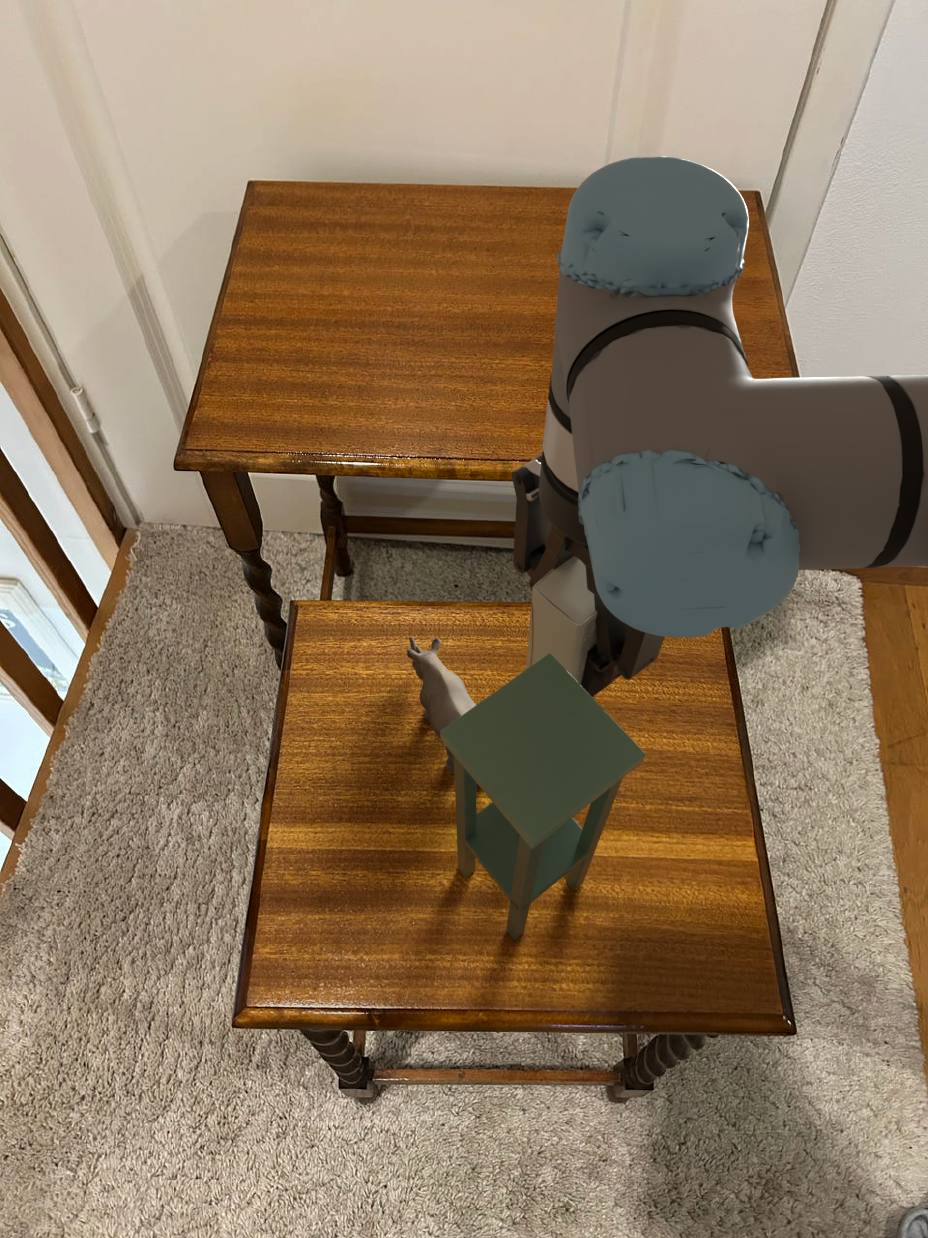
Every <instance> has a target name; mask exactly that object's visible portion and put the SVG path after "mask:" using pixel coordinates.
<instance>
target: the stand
mask: <svg viewBox="0 0 928 1238" xmlns="http://www.w3.org/2000/svg"><path fill="white" fill-rule="evenodd" d="M453 774H454V797H455V798H454V801H455V823H456V825H455V826H456V829H455V830H456V852H457V869H458V871H460V873H461V874H462V875H463V876H464V878H467V877H468V876H470V875H471V874H472V873H474V872H475V871H476V860H477V861H478V862H479V864H480V865H481V867H483V870H485V871H486V873H487V874H488V875H489V876H490V877H491V879H492V880H493V882H495V884H496V885H497V886H498V887H499V889H500V890H501V892H503V894H504V895H505V896H506V897H507V899H508V900H509V907H508V915H507V922H506V929H505V930H506V932H507V934H509V935H510V937H511V938H512V940H513V941H515V940H517V939H518V938H519V937H520V936H522V935H523V934H524V933H525V930H526V927H527V926H526V925H527V921H528V916H529V911H530V907H531V904H532V903H533V902H535V900H536V899H538V898H539V897H541V896H542V894H544V893H546V892H547V890H549V889H550V888H551V887H553V886H554V885H555V884H557V882H559V881H560V880H561V879H562V878H564V877H565V876H566V875H567V876H566V879H565V882H566V883H567V884H568V886H569V887H570V888H571V889H572V891H576V890H577V889H579V888H580V887H581V886H582V885H583V884H584V881H585V878H586V876H587V873H588V871H589V868H590V867H591V863H592V860H593V858H594V855H595V852H596V850H597V847H598V844H599V842H600V839H601V837H602V835H603V834H602V833H603V831H604V829H605V827H606V823H607V821H608V818H609V816H610V813H611V810H612V808H613V805H614V802H615V800H616V797H617V795H618V791H619V789H620V786H621V784H622V781H623V779H624V777H623V778H622V779H621V780H620V781H618V782H617V783H616V784H615V785H613V786H612V787H611V788H609V789H608V790H607V791H606V792H604V793H603V794H602V795H601V796H599V797H598V798H597V799H596V800H594V801H593V802H592V803H591V804H589V807H588V809H587V810H588V811H587V814H586V817H585V820H584V822H583V826H582V827H581V826H580V824H579V823H578V822H577V821H576V819H574V817H573V818H572V819H570V820H569V821H568V822H567V823H565V824H564V825H563V826H562V827H560V828H559V829H558V830H556V831H555V832H554V833H553V834H551V835H550V836H549V837H548V838H546V839H545V840H544V841H543V842H541V843H540V844H539V845H538V846H536V847H535V848H534V849H531V848H530V846H529V845H528V844H527V843H526V842H525V840H524V839H523V838H522V837H521V836H520V834H519V833H518V832H517V831H516V830H515V828H514V827H513V826H512V825H511V824H510V822H509V821H508V820H507V819H506V818H505V816H504V815H503V814H502V813H501V812H500V810H499V809H498V808H497V807H496V806H495V804H494V803H493V802H492V801H491V803H490V804H488V805H486V806H485V807H484V808H483V809H482V810H480V811H479V812H477V800H478V799H477V797H478V796H477V794H478V793H477V792H478V786H477V785H478V784H477V783H476V781H475V780H474V779H473V778H472V777H471V775H470V774H469V773H468V772H467V771H466V769H465V768H464V767H463V766H462V765H461V763H460V762H459V761H458V760H457V759H456V757H455V756H454V773H453Z"/></svg>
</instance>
